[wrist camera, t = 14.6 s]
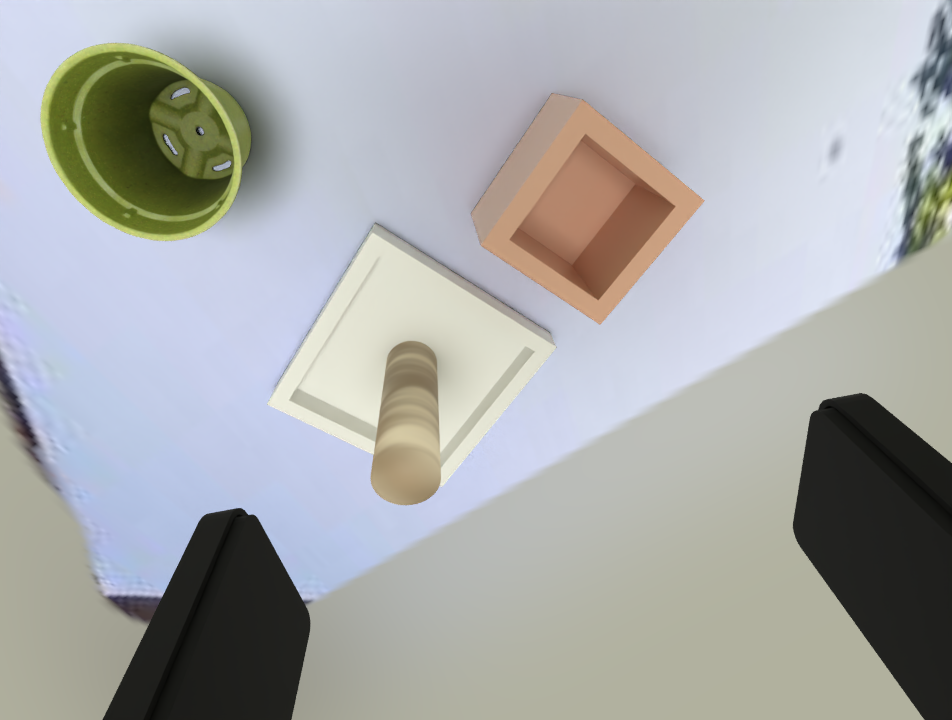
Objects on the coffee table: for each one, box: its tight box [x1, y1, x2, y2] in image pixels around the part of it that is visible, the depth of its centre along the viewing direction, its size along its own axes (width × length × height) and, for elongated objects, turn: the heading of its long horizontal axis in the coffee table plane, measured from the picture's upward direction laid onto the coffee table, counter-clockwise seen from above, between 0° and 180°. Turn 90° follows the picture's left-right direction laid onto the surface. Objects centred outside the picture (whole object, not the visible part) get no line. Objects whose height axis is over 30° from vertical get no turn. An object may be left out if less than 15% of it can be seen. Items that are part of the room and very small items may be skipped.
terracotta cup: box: [471, 93, 704, 324], centre depth 36 cm, size 9×9×8 cm
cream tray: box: [267, 223, 556, 487], centre depth 43 cm, size 16×16×3 cm
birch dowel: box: [371, 341, 441, 505], centre depth 38 cm, size 4×4×14 cm
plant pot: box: [40, 43, 251, 241], centre depth 32 cm, size 9×9×9 cm
